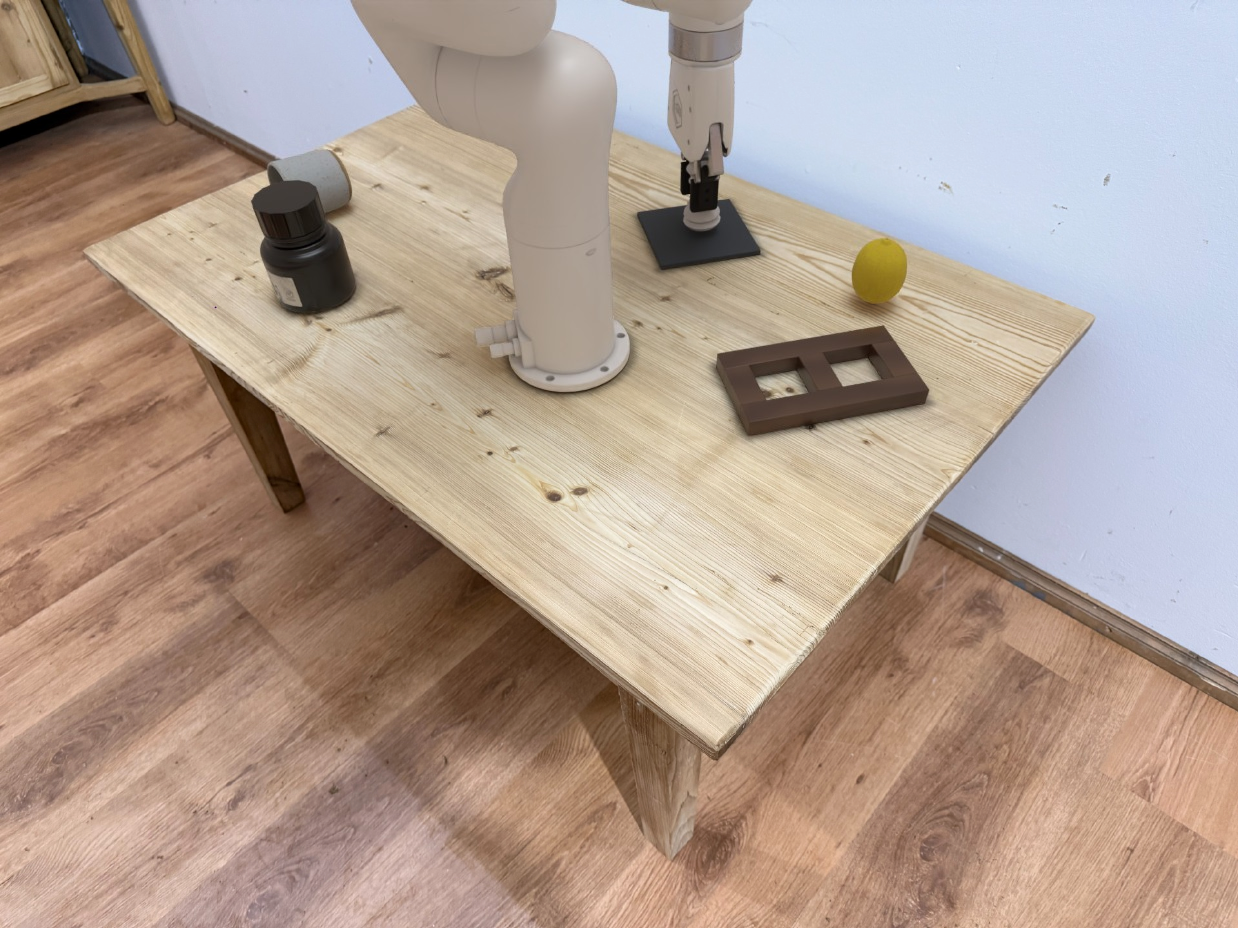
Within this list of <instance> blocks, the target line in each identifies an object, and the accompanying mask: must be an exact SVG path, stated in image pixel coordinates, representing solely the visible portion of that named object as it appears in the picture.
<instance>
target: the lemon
mask: <svg viewBox="0 0 1238 928" xmlns="http://www.w3.org/2000/svg"><path fill="white" fill-rule="evenodd" d="M907 272H908V259H907V254H906V251H905V249H904V248H903V247H902V245H900V244H899V243H898V242H897V241H895V240H893V239H891V238H889V237H884V238H883V237H881V238H876V239H873V240H871V241H869V242H867V243H866V244H865V245H863V246H862V247H861V249H860V250H859V252H858V254H857V255H856V257H855V259H854V262H853V265H852V269H851V285H852V288H853V290H854V292H855V294H856V295H857V296H858V297H859V298H860V299H861V300H864V302H867V303H869V304H871V305H874V304H883V303H886V302H889V301H890V300H892V299H893V298H895V297H896V296H897V295H898V294H899V292H900V291H901V289H902V287H903V286H904V284H905V281H906V278H907Z"/></svg>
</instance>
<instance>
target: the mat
mask: <svg viewBox="0 0 1238 928" xmlns="http://www.w3.org/2000/svg"><path fill="white" fill-rule="evenodd" d="M686 206H687V204H683V205H676V206H670V207H663V208H657V209H649V210H643V211H637V212H636V216H637V219H638V221H639V223H640V225H641V227H642V230H643V232H644V234H645V237H646V238H647V241H648V244H649V245H650V247H651V249H652V252H653V254H654V256H655V259H656V261H657V264H658V266H659V267H660V269H661V271H662V270H668V269H674V268H675V269H676V268H681V267H688V266H694V265H700V264H707V263H714V262H720V261H727V260H732V259H733V260H734V259H741V258H745V257H746V258H747V257H752V256H758V255H761V250H762V249H761V248H760V247H759V245H758V243H757V242H756V240H755V239H754V237H753V235H752V234H751V232H750V231H749V228H748V227H747V226H746V224H745V222H744V220H743V219H742V217H741V215H740V214H739V212H738V211H737V209H736V208H735V205H734V204H733V202H732V201H731V199H730V198H724V199H718V207H719V209H720V213H719V215H720V217H721V218H720V222H719V223H718V224H717V225H716V226H715V227H714V228H713V229H710V230H707V231H694V230H691V229H690V228H688V227H687V226H686V225H685V223H684V221H683V219H684V210H685V207H686Z"/></svg>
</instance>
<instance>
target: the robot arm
mask: <svg viewBox="0 0 1238 928" xmlns="http://www.w3.org/2000/svg"><path fill="white" fill-rule="evenodd" d="M349 1H350V3H351V7H352V8H353V11H354V12H355V14H356V15H357V17H358V19H359V21H360V22H361V24H362V25H363V27H364V29H365V30H366V32H367V33H368V35H369V36H370V38H371V39H372V40H373V42H374V43H375V45H376V47H377V48H378V49H379V50H380V52H381V53H382V55H383V56H384V59H386V61H387V62H388V63H389V66H390V67H391V68H392V69H393V71H394V72H395V74H396V75H397V76H398V78H399V79H400V81H401V83H402V84H403V85H404V87H405V88H406V89H407V91H408V92H409V93H410V95H411V96H412V98H413V99H414V100H415V102H416V103H417V104H418V106H419V107H420V108H421V109H422V110H423V112H424V113H426V115H428V116H429V118H431V119H432V120H433V121H434V122H436V123H437V124H438V125H441V126H442V127H444V128H446V129H448V130H452V131H453V132H456V133H459V134H461V135H464V136H468V137H471V138H474V139H477V140H480V141H484V142H487V143H490V144H493V145H495V146H497V147H500V148H503V149H506V150H508V151H510V152H512V153H513V154H514V155H515V157H516V161H517V162H516V166H515V168H514V171H513V172H512V174H511V176H510V177H509V179H508V180H507V182H506V184H505V187H504V189H503V195H502V201H501V202H502V205H501V206H502V215H503V223H504V228H505V235H506V241H507V246H508V247H507V248H508V256H509V262H510V269H511V276H512V284H513V290H514V296H515V304H516V308H513V309H512V316H513V319H509V320H508V319H507V320H504V324H501V325H500V324H499V325H494V326H492V325H489V326H483V327H476V328H474V329H473V330H474V336H475V342H476V347H477V348H482V347H489V352H490V357H491V359H497V358H503V357H504V356H505V357H506V356H508V361H509V364H510V367H511V369H512V371H513V372H514V373H515V374H516V375H517V376H518V377H519V378H520V379H521V380H522V381H524V382H526V383H527V384H529V385H530V386H533V387H536V388H538V389H541V390H546V391H549V392H550V391H551V392H559V393H572V392H573V393H574V392H580V391H586V390H589V389H590V390H591V389H593V388H596V387H598V386H599V387H600V385H603V384H605V383H607V382H609V381H610V380H612V379H613V378H615V377H616V376H617V375H618V374H619V373H620V372H621V371H622V370H623V369H624V368H625V366H626V365H627V363H628V360H629V358H630V353H631V341H630V336H629V334H628V332H627V330H626V329H625V327H624V326H623V324H621V322H619V321H618V320H617V319H616V318H615V315H614V312H615V311H614V290H613V268H612V267H613V266H612V241H611V239H612V238H611V219H610V217H611V216H610V199H609V198H610V195H609V190H610V189H609V175H610V174H609V172H610V155H611V146H612V140H613V139H612V137H613V131H614V125H615V119H616V113H617V105H618V83H617V78H616V74H615V72H614V69H613V67H612V64H611V63H610V61H609V60H608V59H607V57H606V56H605V55H604V54H603V53H602V52H601V50H599V48H597V47H595V46H594V45H593V44H591V43H590V42H587V41H586V40H584V39H581V38H580V37H578V36H576V35H573V34H570V33H566V32H563V31H560V30H555V29H552V28H553V26H554V24H555V23H554V22H555V19H556V13H557V6H558V5H557V0H349ZM620 1H621V2H623V3H626V4H628V5H631V6H635V7H638V8H644V9H649V10H653V11H659V12H664V13H665V12H666V13H668V31H667V32H668V33H667V34H668V37H667V38H668V41H667V43H668V44H667V53H668V54H667V55H668V56H669V58H670V64H669V78H668V95H667V112H666V113H667V115H666V123H667V128H668V131H669V133H670V135H671V136H672V138H673V140H674V142H675V143H676V145H677V148H679V150H680V159H681V161H680V180H679V181H680V182H679V183H680V185H679V191H680V194H681V195H682V196H689V199H690V211H691V212H692V213H696V212H703V211H710V210H715V209H716V208H717V205H718V200H719V190H720V189H719V187H720V186H719V185H720V179H721V175H724V173H725V167H724V158H728V157H729V155H730V154H731V151H732V148H733V147H732V146H733V138H734V127H735V99H736V98H735V97H736V96H735V95H736V94H735V93H736V92H735V91H736V90H735V88H736V87H735V84H736V80H735V78H736V77H735V61H737V60H738V59H740V57H742V53H743V52H742V51H743V36H744V24H745V12H746V11H747V10H748V9H749V7H751V4H753V1H754V0H620ZM705 160H709V164H708V165H704V166H703V167H702V168H701V161H705ZM689 161H690V162H694V179H690V177H691V176H690V174H689V173H688V172H687V170H686V168H687V166H688V165H689ZM689 179H690V183H689Z"/></svg>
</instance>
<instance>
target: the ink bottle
mask: <svg viewBox="0 0 1238 928" xmlns="http://www.w3.org/2000/svg"><path fill="white" fill-rule="evenodd" d="M250 204H251V207H252V209H253V212H254V215H255V218H256V221H257V222H258V225H259V228H260V231H261V232H262V235H263V237H264V238H263V239H262V241H261V243H260V246H259V254H260V258H261V261H262V264H263V266H264V269H265V272H266V273H267V276H268V279H269V281H270V284H271V286H272V289H273V292H274V294H275V297H276V299H277V301H278V302H279V304H280V305H281V306H282V307H283V308H285V309H286V310H288V311H290V312H293V313H299V314H300V313H302V314H304V313H305V314H306V313H307V314H308V313H318V312H323V311H326V310H330V309H333V308H335V307H337V306H339V305H341V304H344V302H346V301H347V300H348V299H349V298H350V297H351V296H352V295H353V293H354V291H355V289H356V284H357V283H356V282H357V281H356V276H355V273H354V270H353V266H352V263H351V260H350V256H349V252H348V250H347V247H346V244H345V240H344V237H343V235H342V233H341V231H340V229H338V228H337V227H336V226H335V225H334V224H333V223H331V222H328V221H327V216H326V213H325V212H324V209H323V206H322V203H321V199H320V196H319V193H318V191H317V188H316V186H314V185H313V184H311V183H310V182H305V181H300V180H289V181H288V180H286V181H282V182H278V183H273V184H271V185H270V184H269V185H266V186H264V187H262V188H261V189H259V190H258V191H256V193H254V195H253V196H252V199H251V200H250Z"/></svg>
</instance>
